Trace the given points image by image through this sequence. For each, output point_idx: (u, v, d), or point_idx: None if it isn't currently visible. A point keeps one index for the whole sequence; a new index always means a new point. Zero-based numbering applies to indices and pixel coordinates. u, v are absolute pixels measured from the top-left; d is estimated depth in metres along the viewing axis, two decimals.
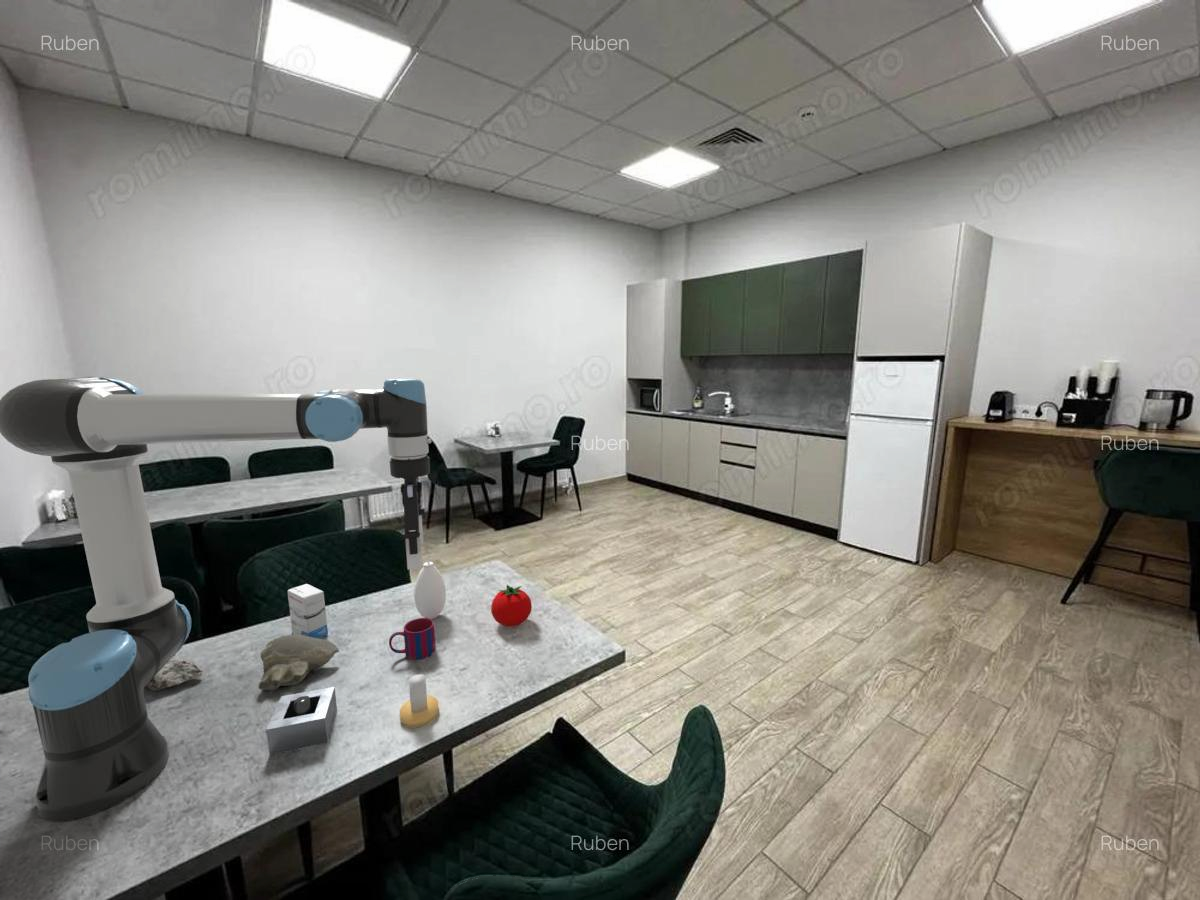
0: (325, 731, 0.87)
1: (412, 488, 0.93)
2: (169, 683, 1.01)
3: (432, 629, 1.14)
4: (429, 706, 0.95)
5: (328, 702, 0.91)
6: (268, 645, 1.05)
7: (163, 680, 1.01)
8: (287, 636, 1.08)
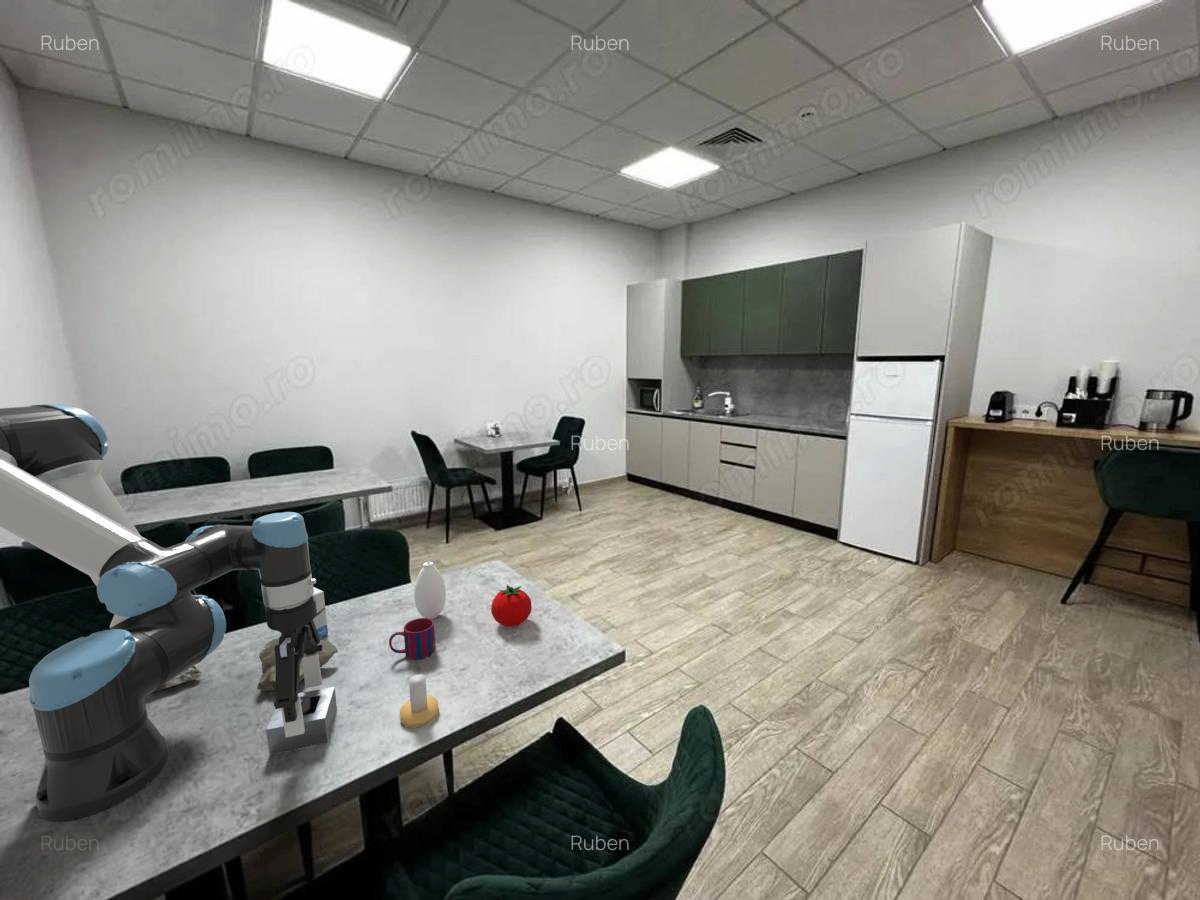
0: (325, 731, 0.87)
1: (286, 647, 0.81)
2: (168, 684, 1.01)
3: (432, 629, 1.14)
4: (429, 706, 0.95)
5: (328, 702, 0.91)
6: (267, 646, 1.05)
7: None
8: None
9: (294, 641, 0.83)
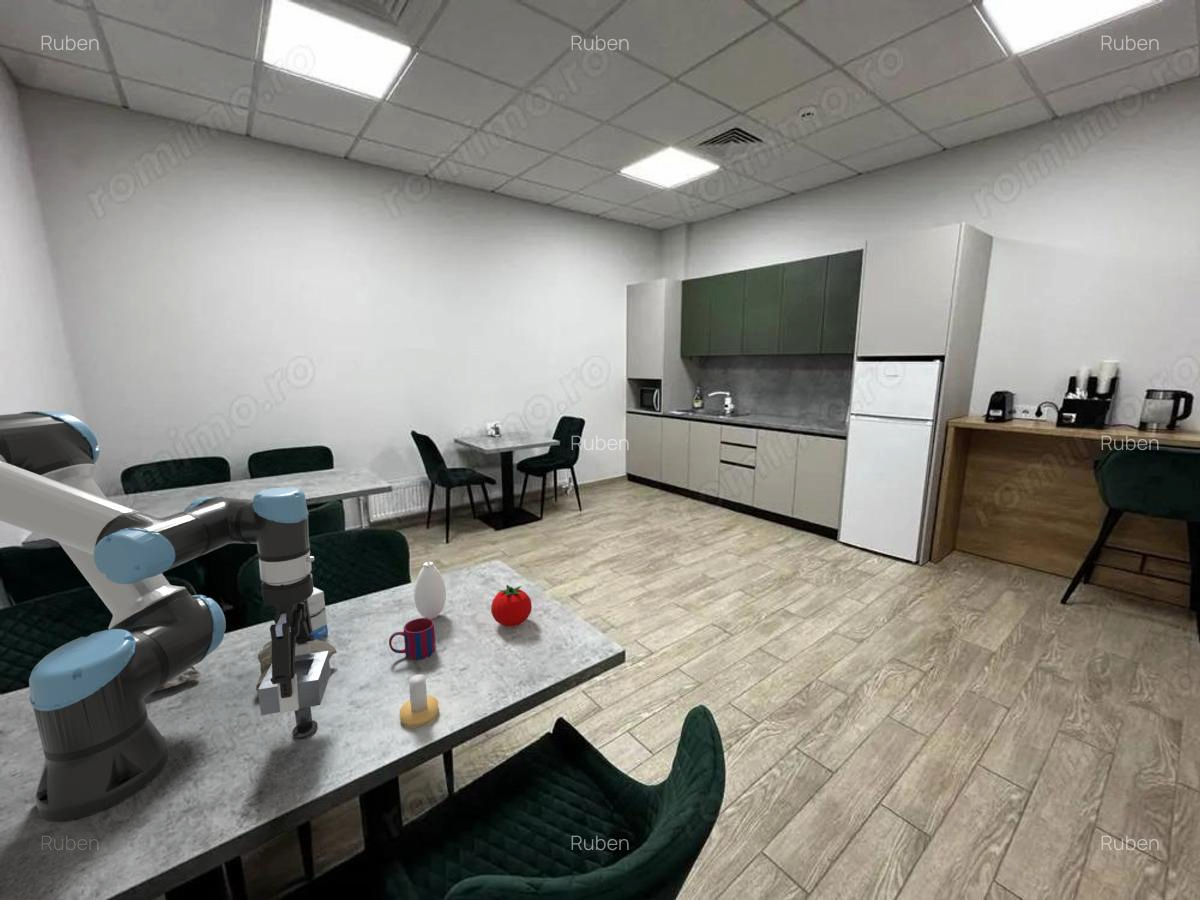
0: (318, 693, 0.86)
1: (282, 627, 0.80)
2: (166, 685, 1.00)
3: (432, 629, 1.14)
4: (429, 706, 0.95)
5: (321, 665, 0.89)
6: (265, 646, 1.04)
7: None
8: None
9: (289, 619, 0.83)
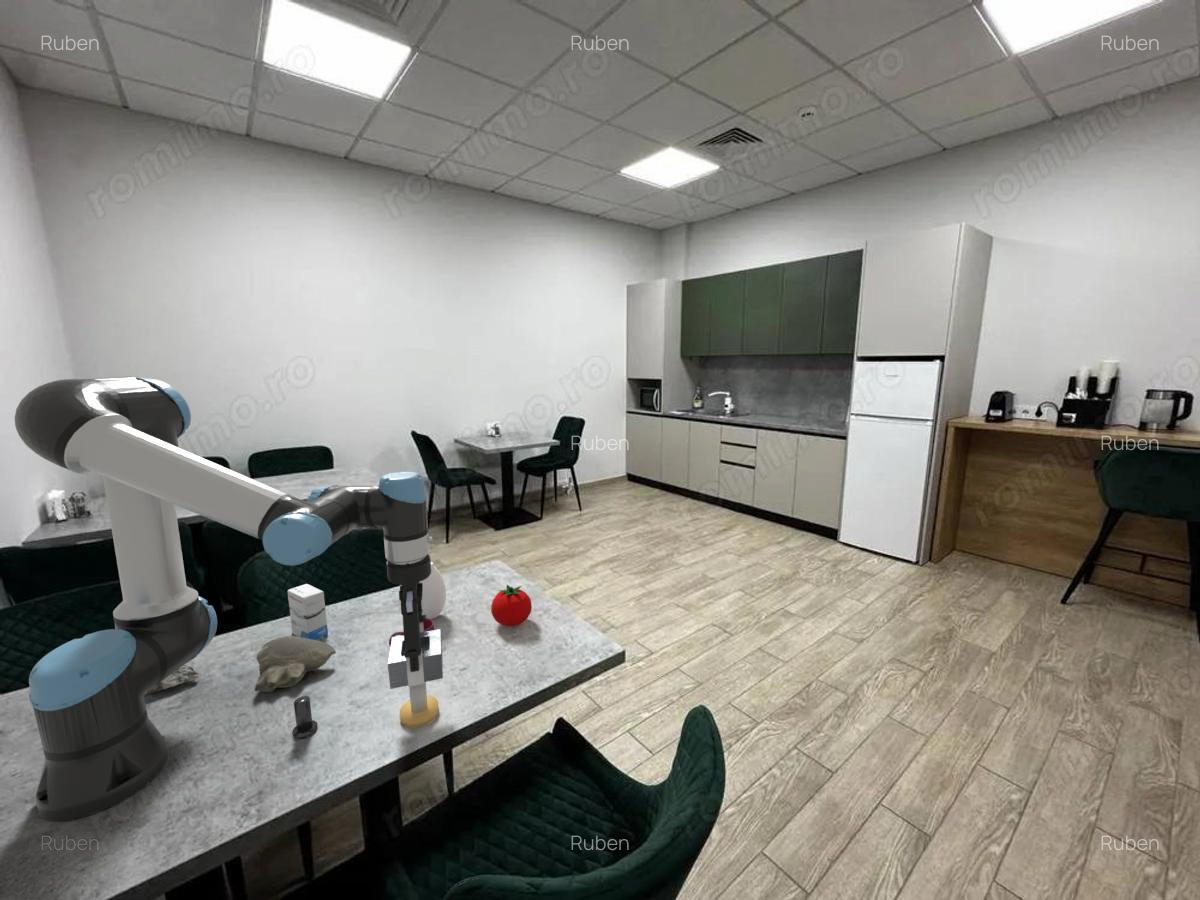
0: (441, 667, 0.90)
1: (412, 603, 0.84)
2: (165, 685, 1.00)
3: (432, 629, 1.14)
4: (429, 706, 0.95)
5: (439, 641, 0.93)
6: (264, 647, 1.04)
7: None
8: (283, 638, 1.07)
9: (415, 596, 0.87)
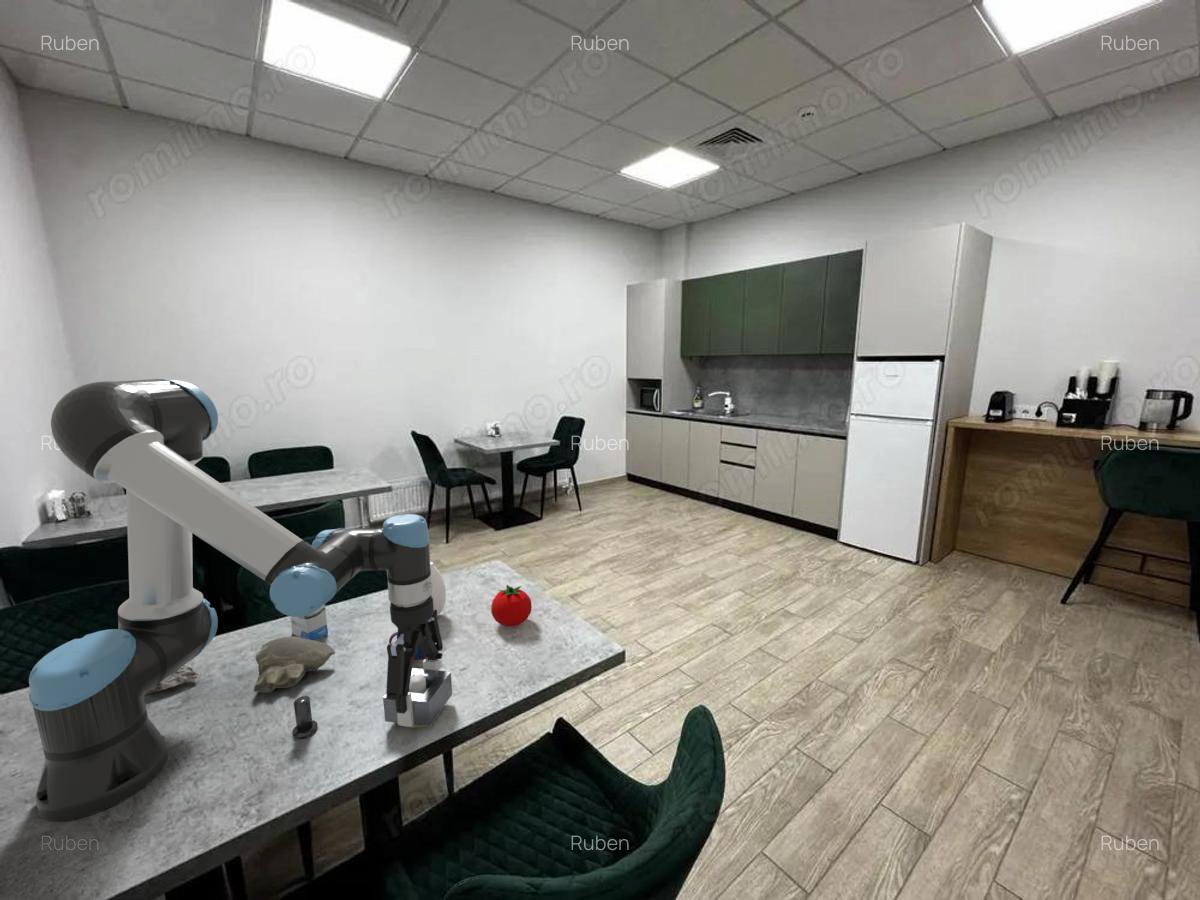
0: (428, 715, 0.89)
1: (395, 648, 0.85)
2: (164, 686, 1.00)
3: None
4: None
5: (438, 686, 0.93)
6: (263, 647, 1.04)
7: None
8: (282, 638, 1.07)
9: (406, 640, 0.88)
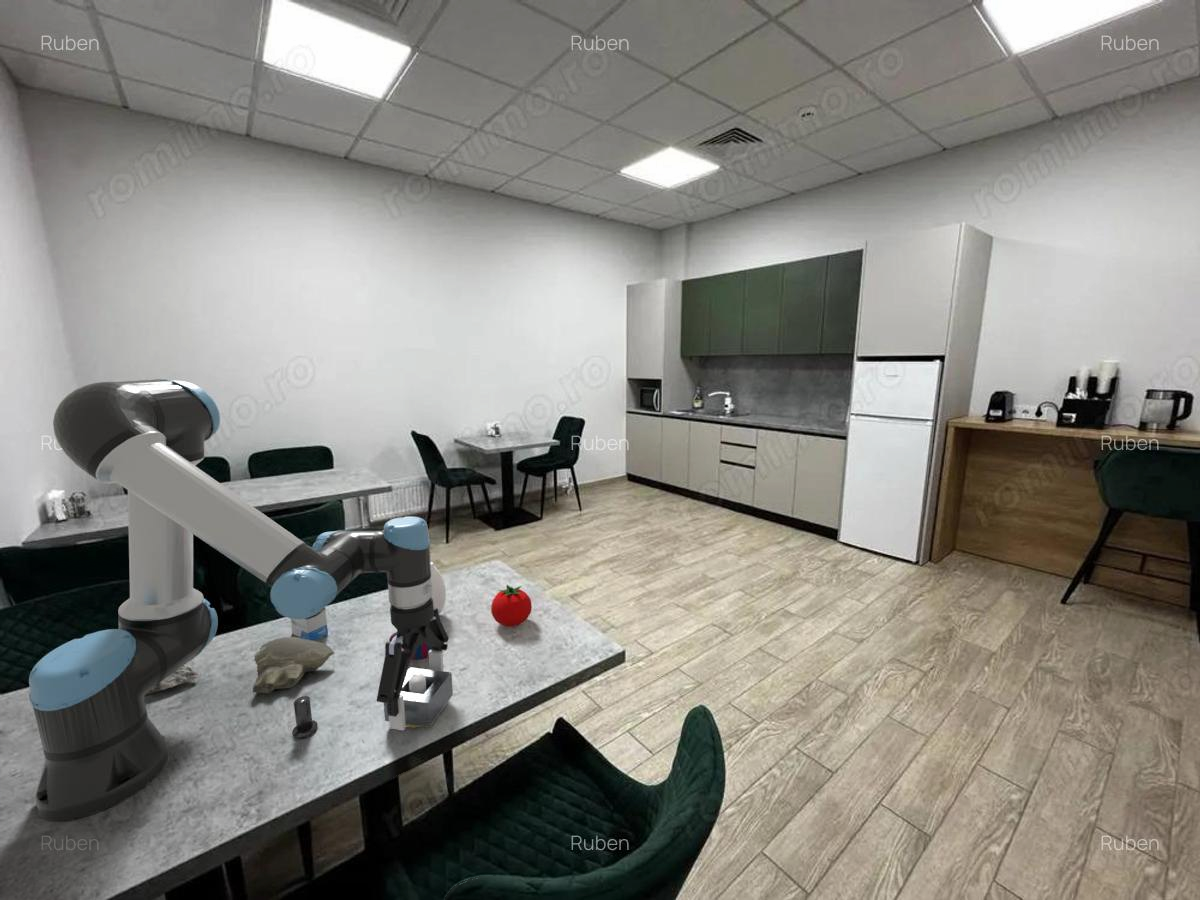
0: (428, 715, 0.89)
1: (394, 646, 0.85)
2: (163, 686, 1.00)
3: None
4: None
5: (438, 687, 0.93)
6: (262, 648, 1.04)
7: None
8: (281, 638, 1.07)
9: (405, 641, 0.88)
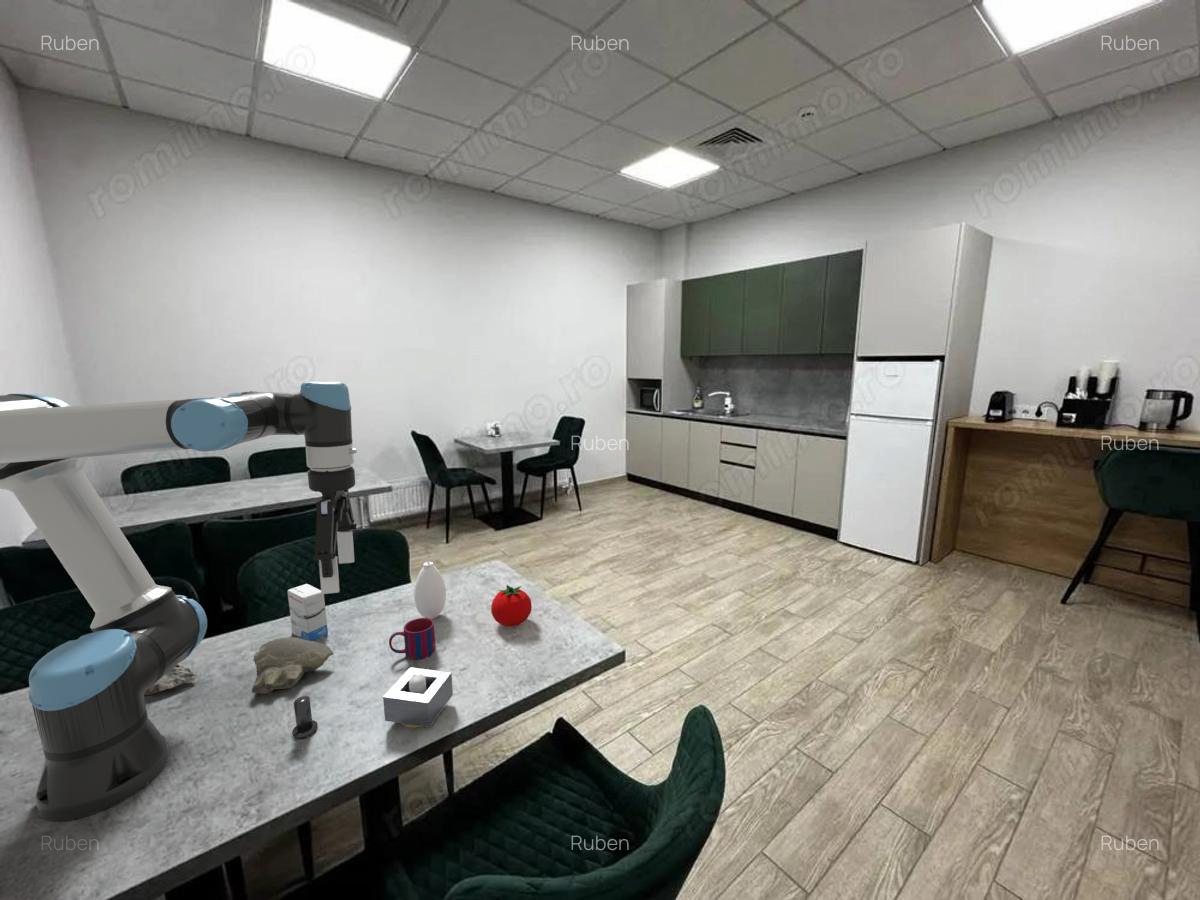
0: (428, 715, 0.89)
1: (327, 504, 0.84)
2: (162, 687, 1.00)
3: (432, 629, 1.14)
4: None
5: (438, 687, 0.93)
6: (261, 648, 1.04)
7: (156, 684, 1.00)
8: (281, 639, 1.06)
9: (334, 503, 0.87)
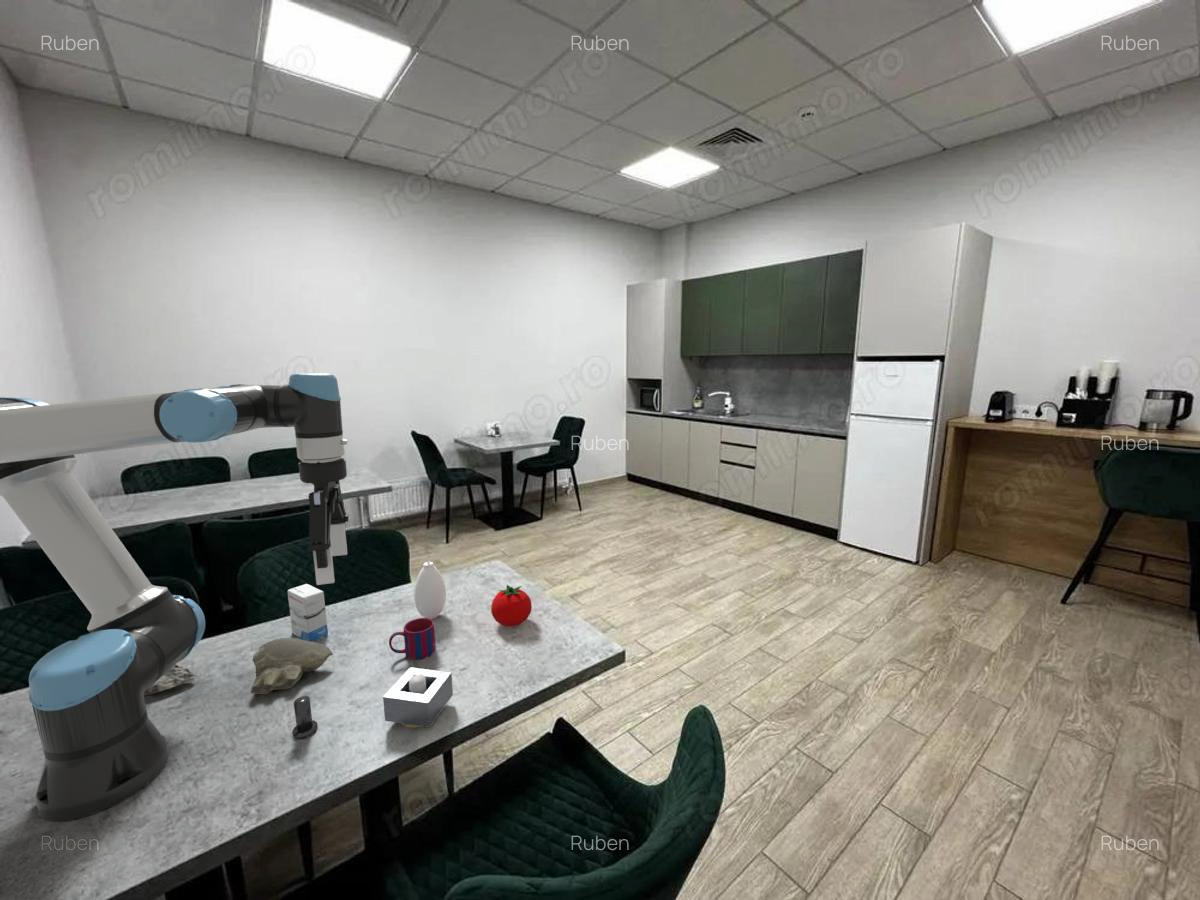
0: (428, 715, 0.89)
1: (320, 495, 0.84)
2: (161, 688, 1.00)
3: (432, 629, 1.14)
4: None
5: (438, 687, 0.93)
6: (260, 649, 1.04)
7: (155, 684, 0.99)
8: (280, 639, 1.06)
9: (326, 494, 0.87)
